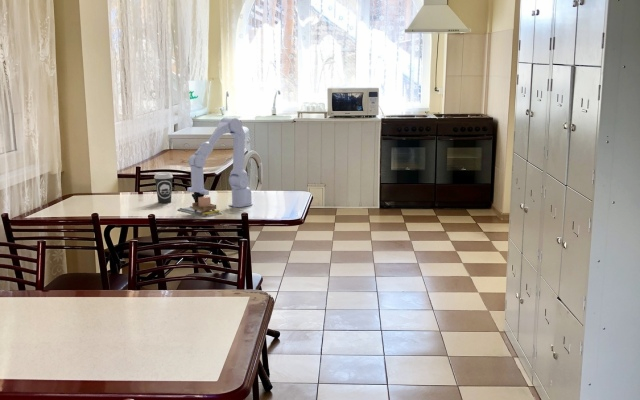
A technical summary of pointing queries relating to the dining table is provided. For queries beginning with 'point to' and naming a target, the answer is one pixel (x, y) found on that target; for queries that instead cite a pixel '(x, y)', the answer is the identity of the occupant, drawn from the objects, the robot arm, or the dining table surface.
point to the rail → (200, 212)
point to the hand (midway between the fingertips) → (198, 208)
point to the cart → (196, 207)
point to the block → (204, 201)
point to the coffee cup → (164, 186)
